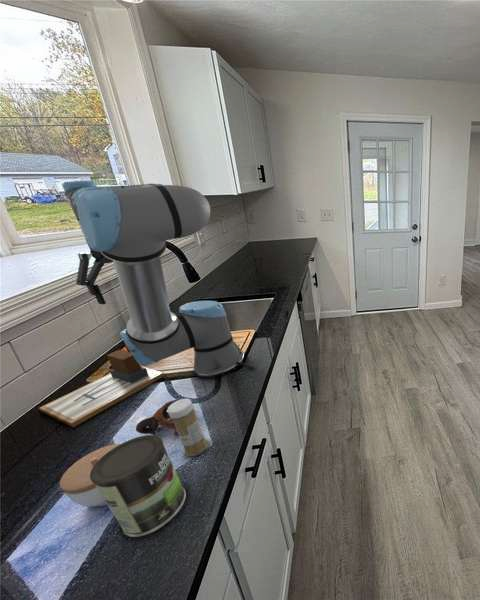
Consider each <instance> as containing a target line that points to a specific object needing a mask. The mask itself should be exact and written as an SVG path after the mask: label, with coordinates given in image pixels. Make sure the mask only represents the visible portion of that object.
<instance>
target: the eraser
mask: <svg viewBox="0 0 480 600" xmlns="http://www.w3.org/2000/svg"><path fill="white" fill-rule="evenodd" d="M106 357H107V359H108V361H109V363H110V365H111V369H109V374H110V373H111V375H112V377H115V378H118V379H121V380H124V381H127V382H130V383H133V382H135V381H137V380H139V379H141V378H142V377H144V376H146V375H148V372H147V370H146V368H147V367H146V368H144V367H145V366H143V367H141V366H142V365H140V364H139V363H138V362H137V361H136V359H135V358H134V356H133V355H132V353H130V352H128V351H127V350H126V351H125V350H124V349H123V350H122V349H118V350H115V351H113V352H111V353H108V354H107V355H106Z"/></svg>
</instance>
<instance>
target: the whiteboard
mask: <svg viewBox="0 0 480 600" xmlns="http://www.w3.org/2000/svg"><path fill="white" fill-rule="evenodd" d="M140 366H141V367H144V368H146V370H147V372H148V375H146V376H144V377H142V378H141V379H139V380H137V381H135V382H133V383H130V382H127V381H124V380H121V379H118V378H115V377H112V375H111V373H110V372H109V373H108V374H106V375H104V376H102V377H100V378H98V379H95V380H94V381H91V382H90V383H87V384H85V385H83V386H81V387H79V388H77V389H75V390H73V391H71V392H69V393H66V394H64V395H62V396H61V397H58V398H56V399H55V400H53V401H50V402H48V403H46V404H44V405H42V406H40V407H38V409H39V410H40V412H42V413H44V414H45V415H48V416H50V417H52V418H54V419H56V420H58V421H59V422H62V423H63V424H65V425H67V426H70V427H71V428H75V427H76V426H79V425H80V424H82V423H83V422H85V421H87V420H89V419H91V418H93V417H94V416H97V415H98V414H100V413H102V412H103V411H106V410H107V409H109V408H111V407H112V406H114V405H116V404H117V403H119V402H121V401H123V400H124V399H126V398H128V397H130V396H132V395H133V394H136V393H137V392H139V391H141V390H142V389H144V388H146V387H148V386H150V385H152V384H153V383H155V382H157V381H159V380H160V379H162V378H164V377H165V374H164V372H163V371H159V370H155V369H153V368H149V367H146V366H143V365H140Z"/></svg>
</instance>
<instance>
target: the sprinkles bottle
mask: <svg viewBox="0 0 480 600" xmlns="http://www.w3.org/2000/svg"><path fill="white" fill-rule="evenodd" d="M177 400H178V399H177ZM193 408H194V405H193V401H192V400H191V399H189V398H182V399H181V400H178V401H176V402H174V403H172V404H171V405H170V406H169V407H168V409H167V412H168V414H169V416H170V417H171V418H170V419H171V421H173V422H174V425H175V427H176V430H177V433H178V435H179V436H178V437H179V440H180V442H181V444H182V447H183V449H184V452H185V455H186V456H187V457H196V456H198V455H200V454H202V453H203V452H204V451H206V449H207V447H208V442H207V441H206V438H205V436H204V432H203V429H202V426H201V423H200V422H199V419H198V417H197V415H196V411H195V408H194V409H193ZM194 411H195V412H194Z"/></svg>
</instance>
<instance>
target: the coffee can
mask: <svg viewBox="0 0 480 600" xmlns="http://www.w3.org/2000/svg"><path fill="white" fill-rule="evenodd" d="M119 444H120V445H118V446H117V447H115V448H113V449H112V450H110V451H109V452H108V453H106V454H105V455H104V456H103V457H101V458H100V459H99V460H98V461H97V463H96V464H95V465H94V466H93V468H92V470H91V472H90V479H91V481H92V482H93V483H94V484H95V485H96V487H97V488H98V490H99V491H100V493H101V495H102V496H103V498H104V500H105V501H106V503H107V504H106V505H107V507H108V508H109V509H110V511H111V513H112V514H113V516H114V517H115V519H116V521H117V523H118V524H119V526H120V527H121V529H122V532H123V534H124V535H126V536H127V537H131V538H139V537H145V536H146V535H150V534H152V533H154V532H156V531H159V530H160V529H161V528H163V527H164V526H165V525H167V524H168V523H169V522H170V521H172V520H173V518H174V517H175V516H177V514H178V513H179V512H180V511H181V509H182V508H183V506H184V504H185V502H186V497H187V493H186V489H185V488H184V486H183V484H182V482H181V480H180V478H179V476H178V473H177V471H176V469H175V466H174V465H173V463H172V460H171V457H170V456H169V453H168V452H167V449H166V447H165V443H164V440H163V439H162V437H160V436H159V435H157V434H156V435H152V434H144V435H140V436H136V437H134V438H131V439H128V440H126V441H124V442H122V443H119Z"/></svg>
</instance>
